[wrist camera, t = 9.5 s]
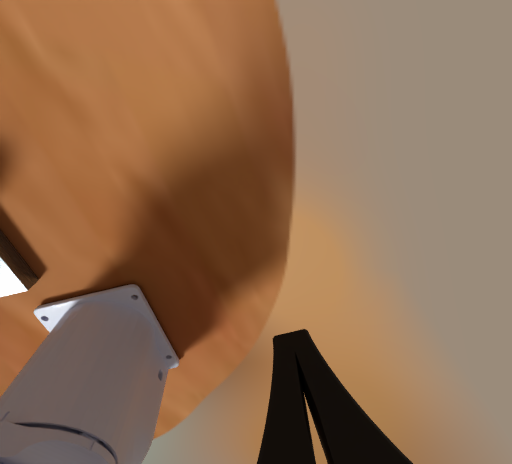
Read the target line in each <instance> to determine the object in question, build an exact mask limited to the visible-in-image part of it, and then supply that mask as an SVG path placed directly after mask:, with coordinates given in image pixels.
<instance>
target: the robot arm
mask: <svg viewBox="0 0 512 464" xmlns="http://www.w3.org/2000/svg"><path fill="white" fill-rule="evenodd" d="M134 295H137V296H138V297H135V296H134ZM34 314H35V316H36V317H37V318H38V319H39V320H40V322H41V323H42V324H43V325H44V326H45V328H46V329H47V330H48V331H49V332H50V333H49V335H48V336H47V337H46V338H45V340H44V341H43V342H42V344H41V345H40V346H39V348H38V349H37V350H36V352H35V353H34V354H33V355H32V357H31V358H30V359H29V361H28V362H27V363H26V365H25V366H24V367H23V369H22V370H21V371H20V372H19V374H18V375H17V376H16V378H15V379H14V380H13V382H12V383H11V384H10V386H9V387H8V388H7V390H6V391H5V392H4V393H3V395H2V396H1V397H0V464H141V463H142V461H143V460H144V458H145V456H146V454H147V452H148V450H149V448H150V446H151V443H152V440H153V436H154V432H155V427H156V423H157V418H158V414H159V409H160V405H161V400H162V396H163V391H164V387H165V382H166V378H167V373H168V369H171V368H175V367H177V366H178V365H179V359H178V357H177V355H176V353H175V351H174V350H173V348H172V346H171V344H170V342H169V340H168V339H167V337H166V335H165V333H164V331H163V330H162V328H161V326H160V324H159V322H158V320H157V319H156V317H155V315H154V313H153V311H152V310H151V308H150V306H149V304H148V302H147V300H146V299H145V297H144V295H143V293H142V291H141V289H140V288H139V287H138V286H137V285H135V284H130V285H125V286H121V287H117V288H113V289H108V290H104V291H100V292H96V293H91V294H87V295H83V296H79V297H74V298H70V299H66V300H62V301H57V302H53V303H49V304H45V305H40V306H38V307H37V308H36V309H35V310H34ZM273 347H274V348H273V349H274V356H273V374H272V384H271V392H270V400H269V406H268V413H267V418H266V424H265V429H264V434H263V439H262V444H261V448H260V453H259V457H258V461H257V464H316V461H315V456H314V450H313V444H312V438H311V433H310V426H309V421H308V415H307V409H306V403H305V397H306V400H307V403H308V406H309V409H310V412H311V415H312V418H313V421H314V424H315V427H316V430H317V433H318V435H319V439H320V441H321V445H322V448H323V450H324V453H325V456H326V459H327V463H328V464H413V463H412V462H411V461H410V460H409V459H408V458H407V457H406V456H405V455H404V454H403V453H402V452H401V451H400V450H399V449H398V448H397V447H396V446H395V445H394V444H393V443H392V442H391V441H390V440H389V438H387V436H385V434H384V433H383V432H382V431H381V430H380V429H379V428H378V427H377V425H376V424H375V423H374V422H373V421H372V420H371V419H370V418H369V416H368V415H367V414H366V413H365V412H364V411H363V410H362V408H361V407H360V406H359V405H358V404H357V402H356V401H355V400H354V399H353V397H352V396H351V395H350V394H349V392H348V391H347V390H346V389H345V388H344V386H343V385H342V384H341V382H340V381H339V379H338V378H337V377H336V375H335V374H334V373H333V371H332V370H331V368H330V367H329V366H328V364H327V363H326V361H325V360H324V358H323V357H322V355H321V354H320V352H319V351H318V349H317V347H316V346H315V344H314V342H313V340H312V339H311V337H310V335H309V332H308V331H307V330H305V329H303V330H298V331H294V332H290V333H286V334H281V335H277V336H274V338H273ZM304 394H305V397H304Z"/></svg>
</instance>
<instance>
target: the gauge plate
mask: <svg viewBox="0 0 512 464" xmlns="http://www.w3.org/2000/svg"><path fill="white" fill-rule="evenodd" d="M38 280H39V279H38V278H37V277H36V275H35V274H34V273H33V271H32V270H31V269H30V267H29V266H28V265H27V264H26V262H25V261H24V260H23V258H22V257H21V256H20V254H19V253H18V252H17V251H16V249H15V248H14V247H13V245H12V244H11V243H10V241H9V240H8V239H7V238H6V236H5V235H4V234H3V232H2V231H1V230H0V297H3V296H7V295H11V294H15V293H20V292H24V291H28V290H29V289H30V288H31V287H32V286H33V285H34V284H35V283H36V282H37V281H38Z"/></svg>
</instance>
